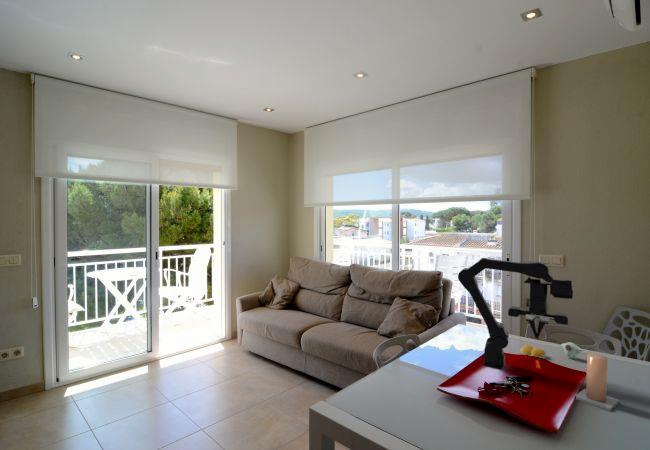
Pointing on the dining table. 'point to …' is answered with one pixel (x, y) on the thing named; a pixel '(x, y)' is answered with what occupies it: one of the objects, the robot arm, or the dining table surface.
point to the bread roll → (533, 351)
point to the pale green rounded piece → (571, 349)
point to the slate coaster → (606, 405)
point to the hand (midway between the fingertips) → (536, 338)
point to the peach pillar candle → (596, 377)
